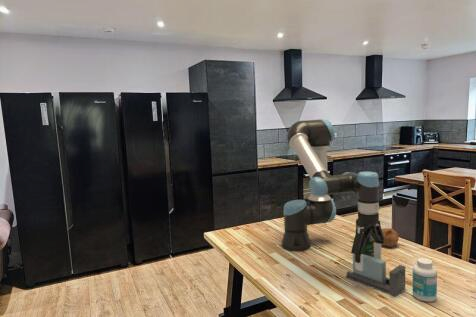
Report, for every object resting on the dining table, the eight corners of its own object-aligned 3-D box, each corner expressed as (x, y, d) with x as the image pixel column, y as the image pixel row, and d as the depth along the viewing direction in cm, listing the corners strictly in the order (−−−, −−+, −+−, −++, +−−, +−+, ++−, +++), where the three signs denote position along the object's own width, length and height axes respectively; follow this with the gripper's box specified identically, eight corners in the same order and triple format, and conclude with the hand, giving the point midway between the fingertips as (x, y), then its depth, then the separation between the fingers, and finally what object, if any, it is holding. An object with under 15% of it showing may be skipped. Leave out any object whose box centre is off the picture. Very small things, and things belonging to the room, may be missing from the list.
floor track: (345, 277, 129) (345, 257, 128) (356, 271, 134) (356, 251, 133) (395, 296, 114) (394, 273, 113) (405, 288, 119) (405, 266, 118)
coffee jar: (366, 261, 143) (366, 221, 141) (353, 255, 150) (352, 217, 148) (381, 256, 147) (380, 217, 145) (367, 250, 154) (366, 213, 152)
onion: (391, 254, 155) (393, 240, 150) (373, 244, 162) (374, 230, 157) (401, 243, 160) (403, 228, 155) (383, 234, 166) (384, 220, 161)
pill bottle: (408, 292, 116) (407, 257, 114) (427, 290, 116) (427, 255, 115) (421, 303, 108) (421, 266, 107) (441, 301, 109) (442, 264, 108)
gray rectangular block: (353, 275, 129) (352, 254, 128) (357, 273, 131) (357, 252, 130) (381, 286, 120) (381, 263, 119) (385, 283, 122) (385, 261, 121)
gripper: (359, 221, 112) (360, 278, 115) (393, 206, 127) (393, 257, 130) (340, 217, 118) (341, 271, 121) (375, 203, 133) (375, 251, 136)
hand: (368, 264), depth 125 cm, fingers open, 13 cm apart
